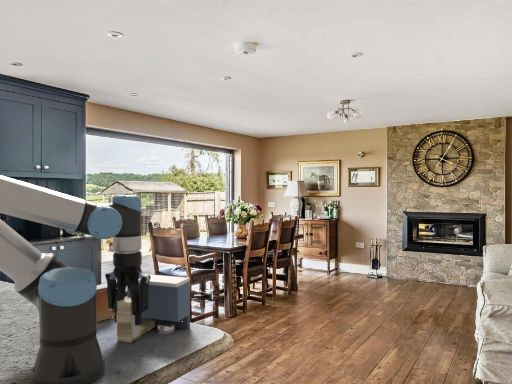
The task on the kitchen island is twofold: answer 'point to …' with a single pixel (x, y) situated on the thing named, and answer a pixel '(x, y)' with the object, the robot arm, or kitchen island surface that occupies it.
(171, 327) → the steel token
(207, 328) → the kitchen island surface
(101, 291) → the small box
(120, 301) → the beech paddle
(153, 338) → the kitchen island surface
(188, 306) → the navy cabinet
